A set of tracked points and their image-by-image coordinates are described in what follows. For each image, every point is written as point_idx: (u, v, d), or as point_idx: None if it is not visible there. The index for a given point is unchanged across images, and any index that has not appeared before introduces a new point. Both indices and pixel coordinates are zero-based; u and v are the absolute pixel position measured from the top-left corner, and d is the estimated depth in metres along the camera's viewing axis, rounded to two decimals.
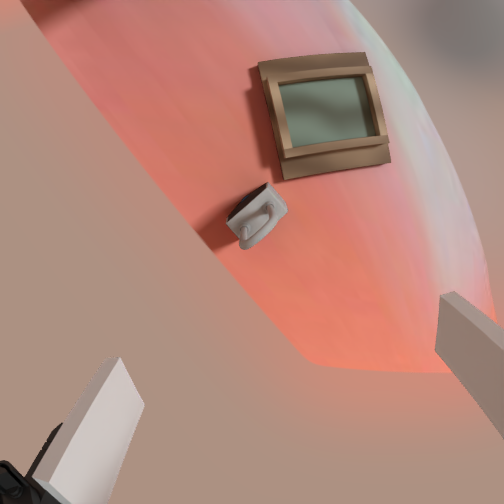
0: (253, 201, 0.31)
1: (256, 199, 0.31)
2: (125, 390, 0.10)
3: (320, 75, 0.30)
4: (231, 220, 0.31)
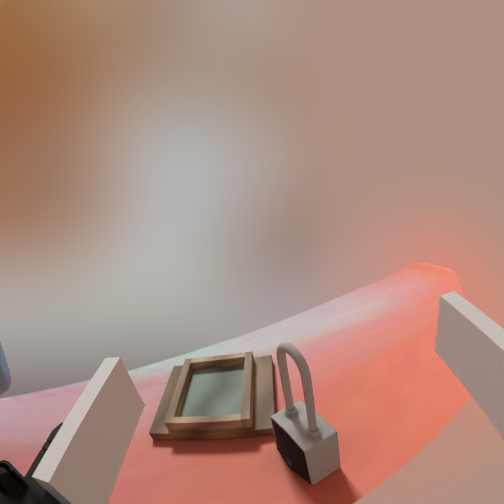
0: (282, 425, 0.23)
1: (280, 423, 0.24)
2: (125, 390, 0.10)
3: (181, 389, 0.36)
4: (301, 446, 0.21)
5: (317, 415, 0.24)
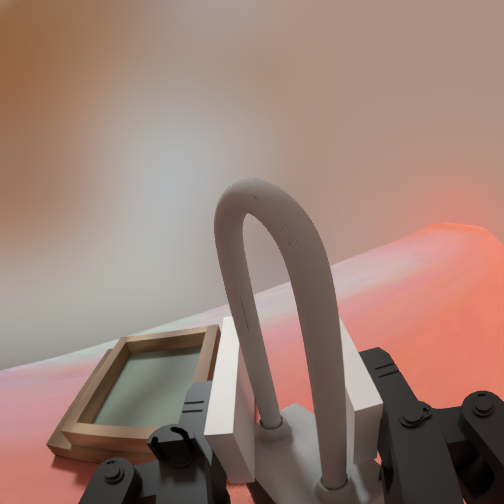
0: None
1: None
2: None
3: (100, 379, 0.20)
4: None
5: None
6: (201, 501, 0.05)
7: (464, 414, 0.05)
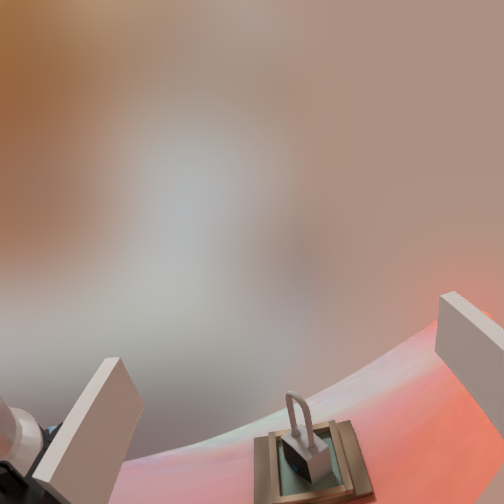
0: (289, 443, 0.32)
1: (288, 441, 0.32)
2: (125, 390, 0.10)
3: (276, 466, 0.33)
4: (304, 457, 0.29)
5: (314, 435, 0.32)
6: None
7: None
